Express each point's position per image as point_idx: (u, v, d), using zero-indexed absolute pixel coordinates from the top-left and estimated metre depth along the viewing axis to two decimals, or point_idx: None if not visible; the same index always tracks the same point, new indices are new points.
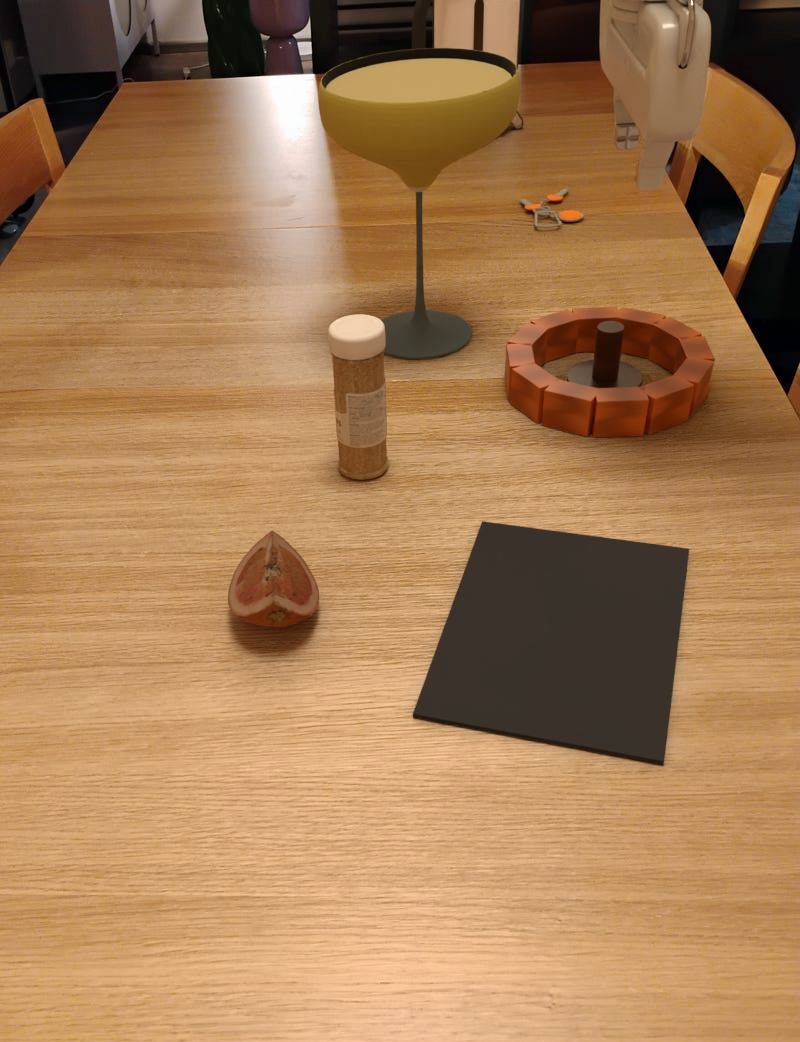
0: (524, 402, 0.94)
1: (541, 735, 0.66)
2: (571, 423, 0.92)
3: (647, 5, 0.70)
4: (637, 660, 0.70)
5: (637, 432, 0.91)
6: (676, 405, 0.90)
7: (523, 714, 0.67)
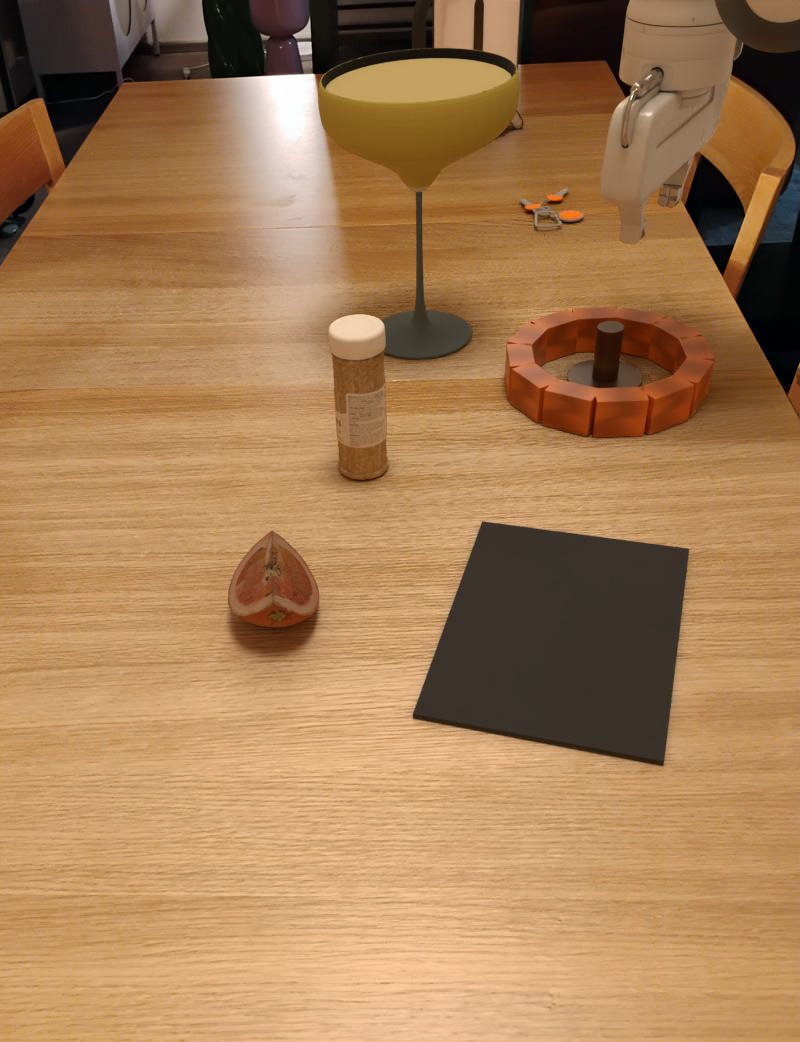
0: (524, 402, 0.94)
1: (541, 735, 0.66)
2: (571, 423, 0.92)
3: None
4: (637, 660, 0.70)
5: (637, 432, 0.91)
6: (676, 405, 0.90)
7: (523, 714, 0.67)
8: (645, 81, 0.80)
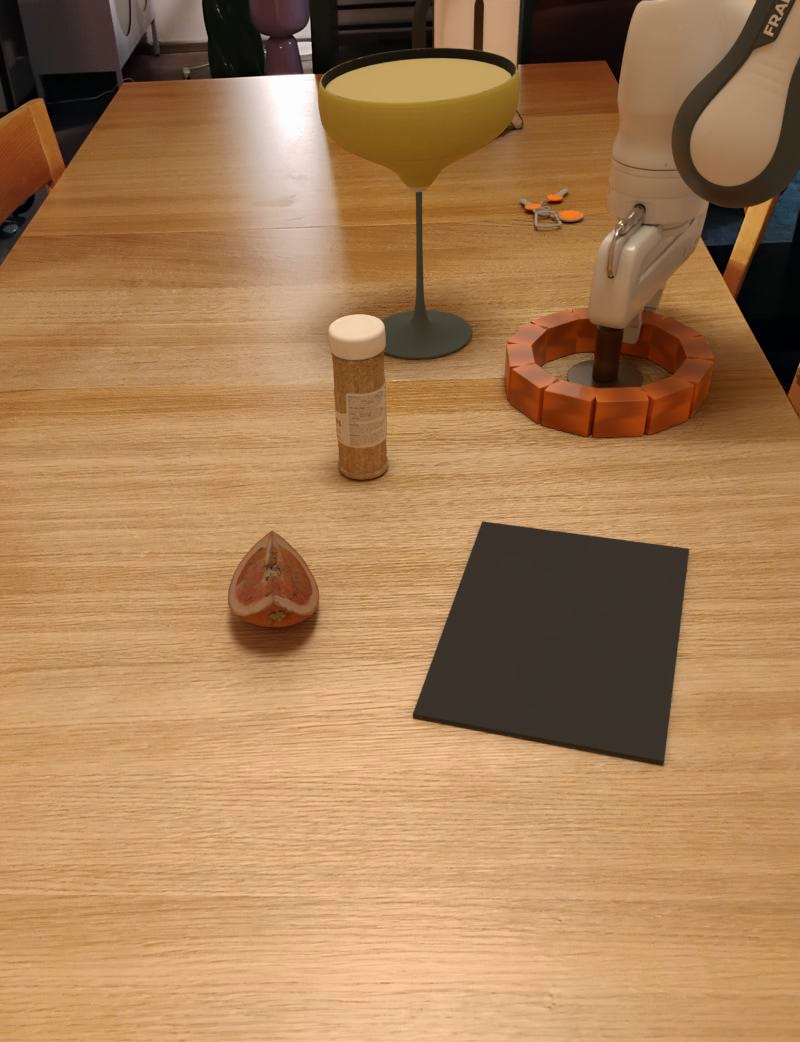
0: (524, 402, 0.94)
1: (541, 735, 0.66)
2: (571, 423, 0.92)
3: None
4: (637, 660, 0.70)
5: (637, 432, 0.91)
6: (675, 405, 0.90)
7: (523, 714, 0.67)
8: (628, 220, 0.87)
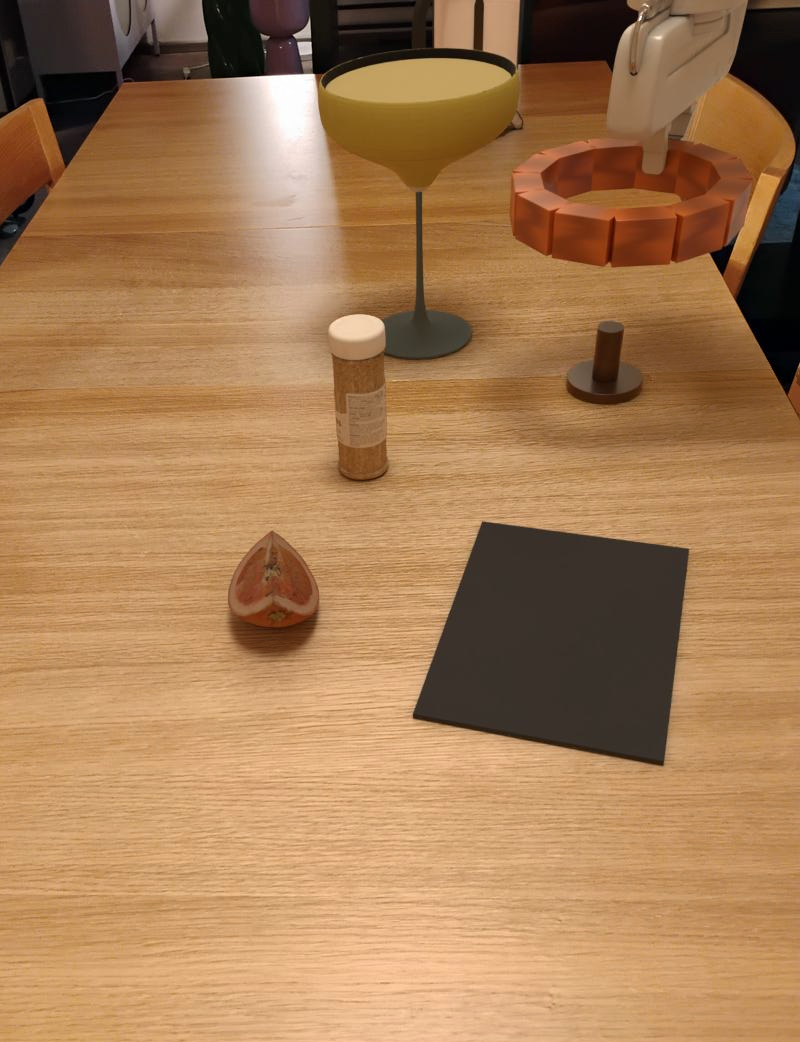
0: (532, 233, 0.82)
1: (541, 735, 0.66)
2: (586, 251, 0.79)
3: None
4: (637, 660, 0.70)
5: (663, 260, 0.78)
6: (708, 227, 0.78)
7: (523, 714, 0.67)
8: (655, 1, 0.75)
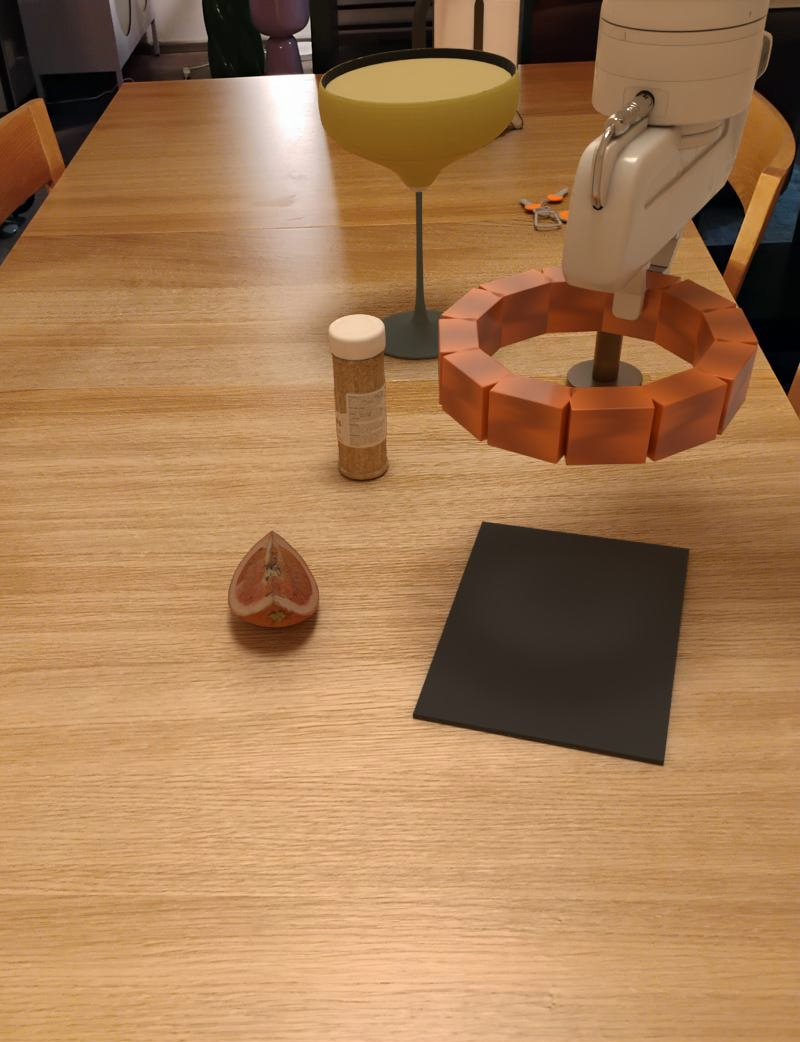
0: (461, 408, 0.61)
1: (541, 735, 0.66)
2: (532, 442, 0.58)
3: None
4: (637, 660, 0.70)
5: (636, 458, 0.57)
6: (697, 416, 0.57)
7: (523, 714, 0.67)
8: (626, 113, 0.54)
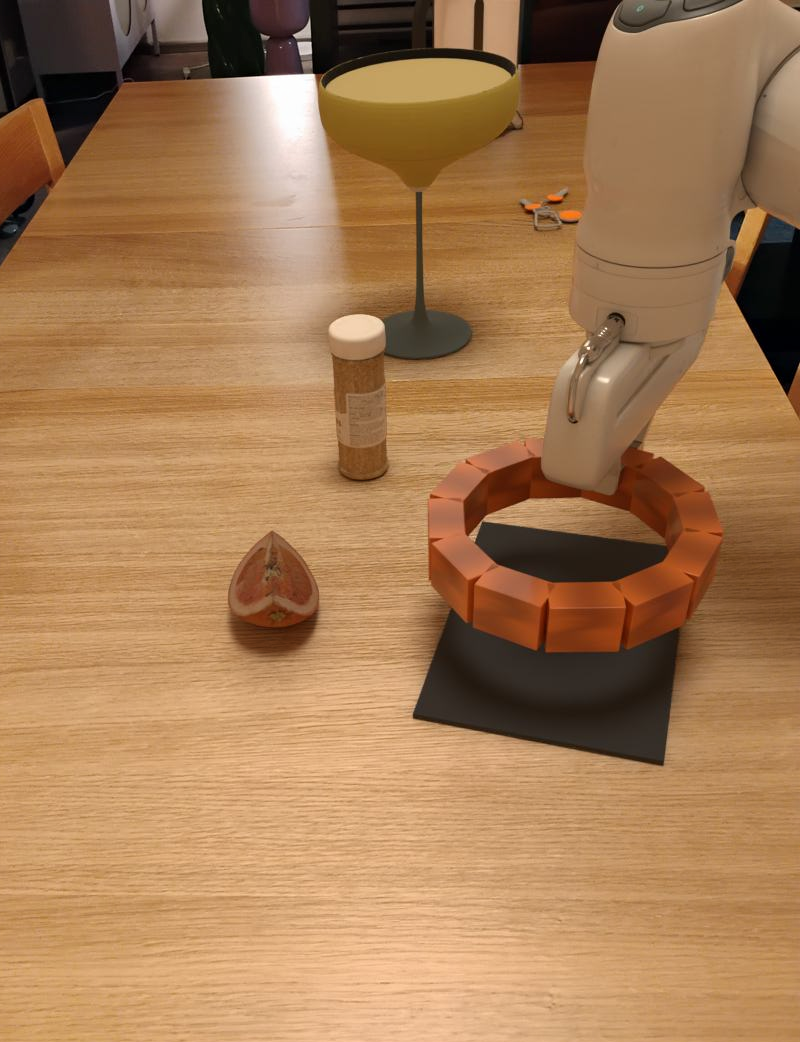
0: (449, 591, 0.66)
1: (541, 735, 0.66)
2: (514, 630, 0.63)
3: (589, 337, 0.63)
4: (637, 660, 0.70)
5: (610, 647, 0.62)
6: (666, 609, 0.62)
7: (523, 714, 0.67)
8: (598, 341, 0.59)
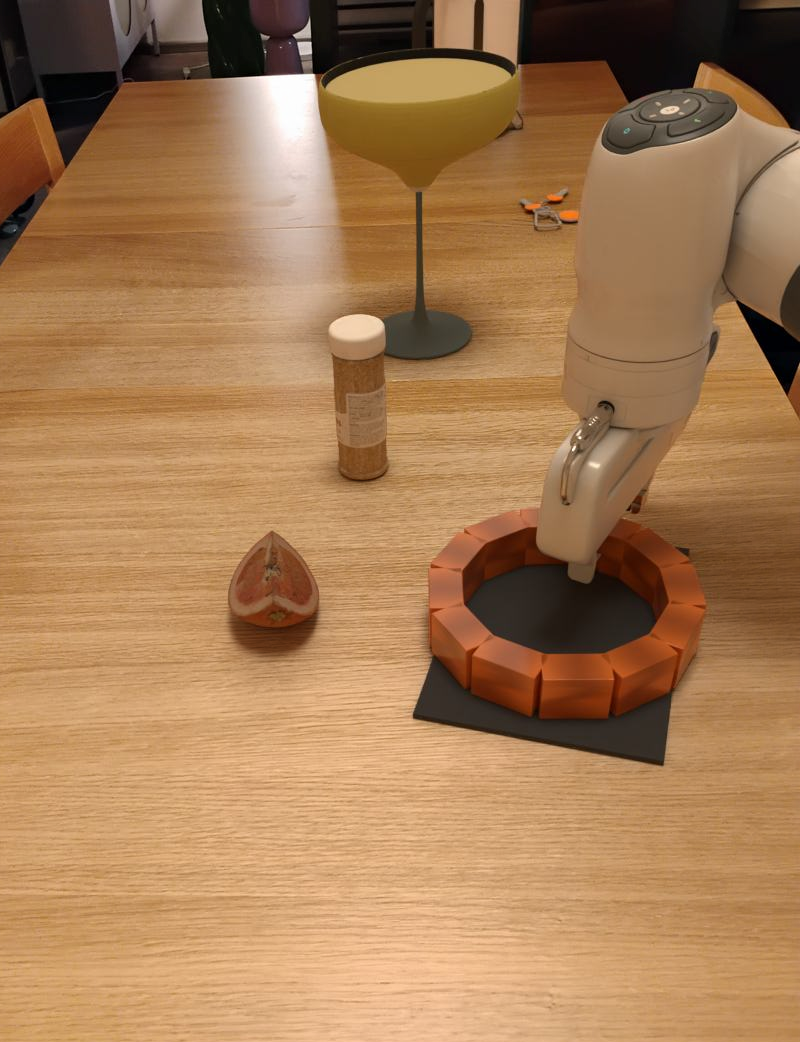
0: (448, 658, 0.70)
1: (541, 735, 0.66)
2: (509, 698, 0.67)
3: (581, 421, 0.66)
4: None
5: (599, 714, 0.66)
6: (652, 679, 0.66)
7: (523, 714, 0.67)
8: (589, 430, 0.62)
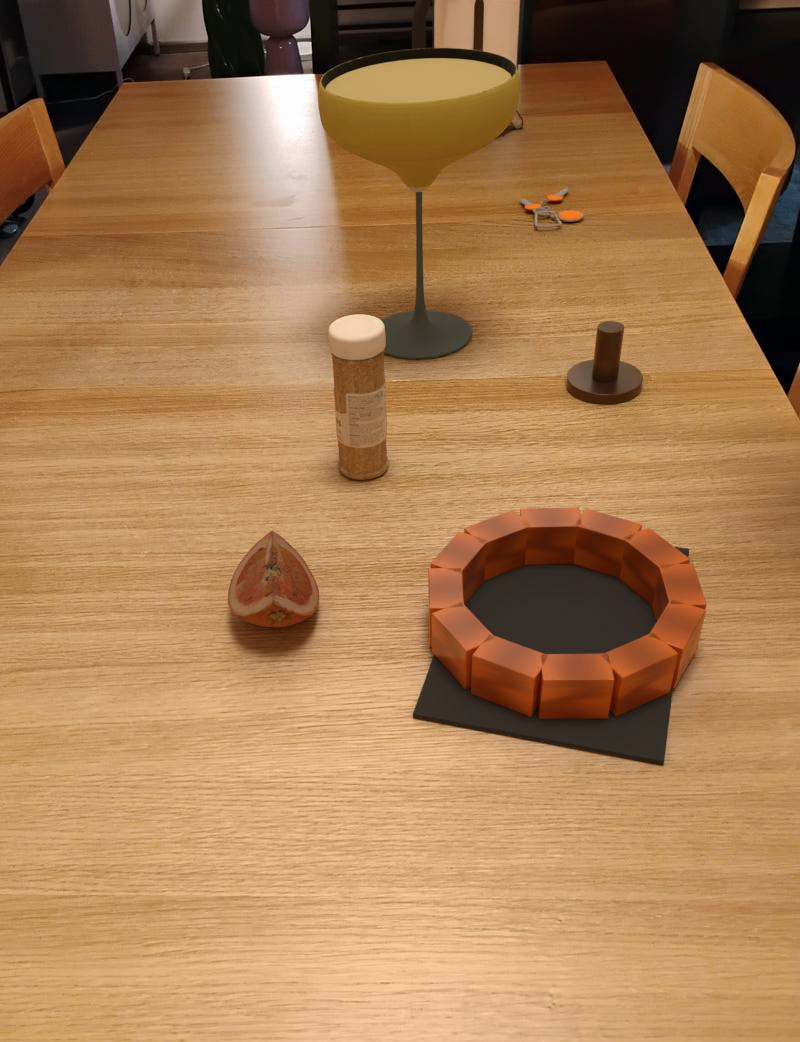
0: (448, 658, 0.70)
1: (541, 735, 0.66)
2: (509, 698, 0.67)
3: None
4: None
5: (599, 714, 0.66)
6: (652, 679, 0.66)
7: (523, 714, 0.67)
8: None
